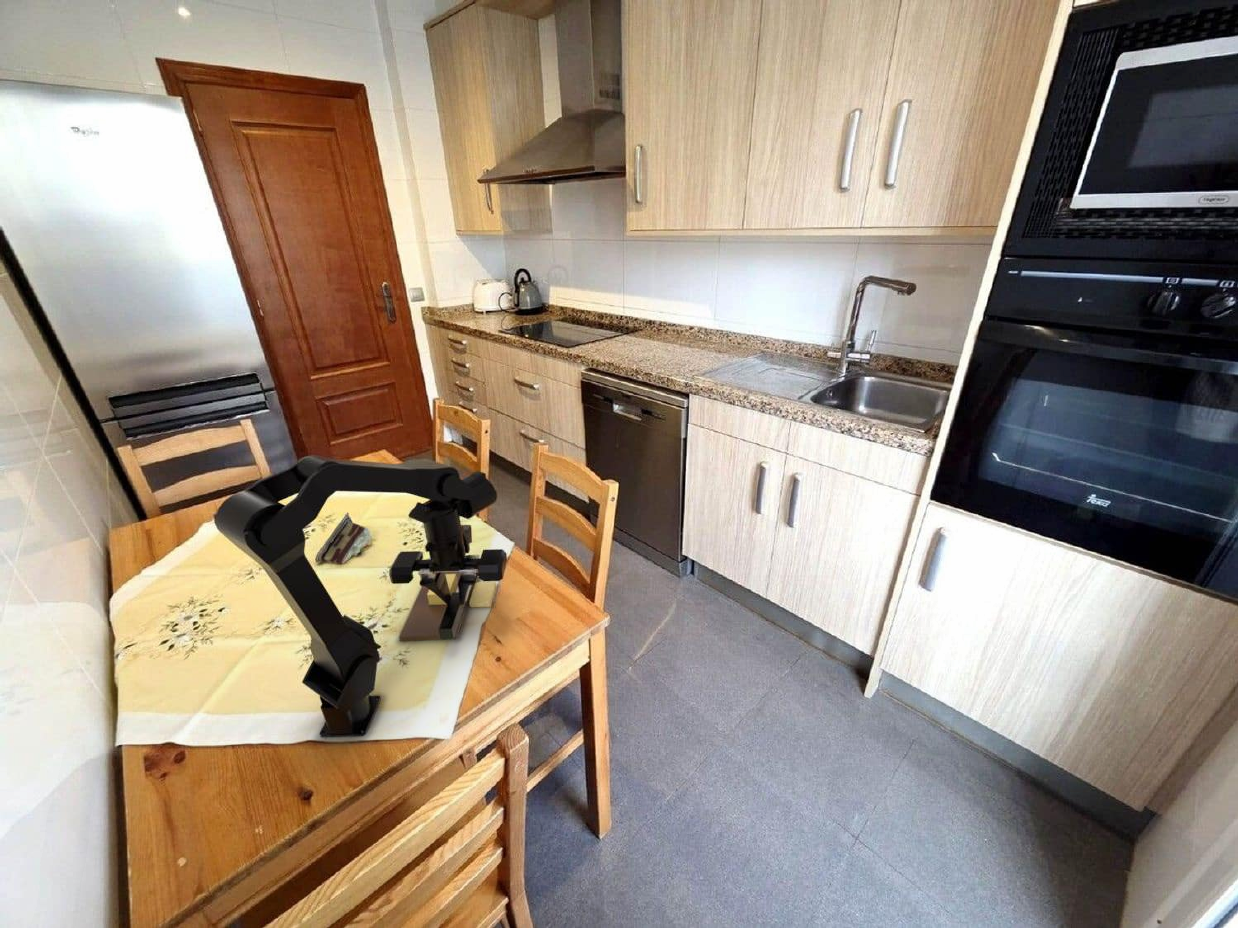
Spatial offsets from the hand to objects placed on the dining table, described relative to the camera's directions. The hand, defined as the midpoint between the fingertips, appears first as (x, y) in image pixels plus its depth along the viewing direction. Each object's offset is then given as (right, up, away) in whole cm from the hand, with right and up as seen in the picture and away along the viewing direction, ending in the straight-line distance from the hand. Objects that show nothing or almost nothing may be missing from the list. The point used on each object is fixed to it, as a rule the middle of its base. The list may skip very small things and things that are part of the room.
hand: (456, 603), depth 90 cm
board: (-5, -2, +7) cm, 9 cm away
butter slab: (+2, 0, +9) cm, 9 cm away
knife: (0, 0, +3) cm, 3 cm away
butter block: (-5, -1, +8) cm, 10 cm away
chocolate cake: (-31, +5, +22) cm, 38 cm away
